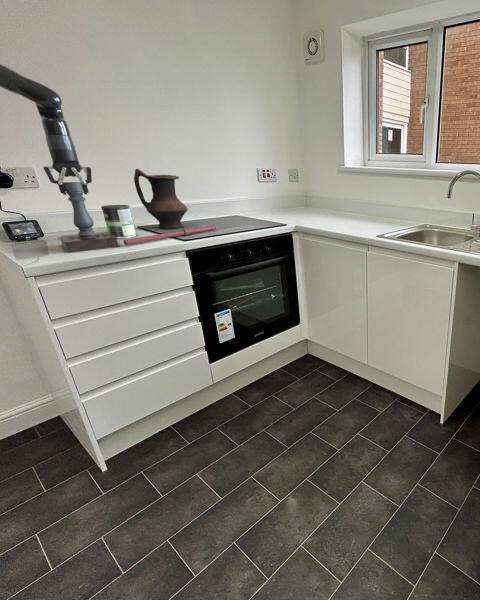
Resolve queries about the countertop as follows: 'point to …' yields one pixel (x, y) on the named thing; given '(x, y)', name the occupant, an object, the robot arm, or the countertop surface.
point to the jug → (162, 200)
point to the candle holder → (79, 209)
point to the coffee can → (119, 221)
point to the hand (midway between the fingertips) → (75, 194)
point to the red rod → (168, 235)
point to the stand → (89, 242)
